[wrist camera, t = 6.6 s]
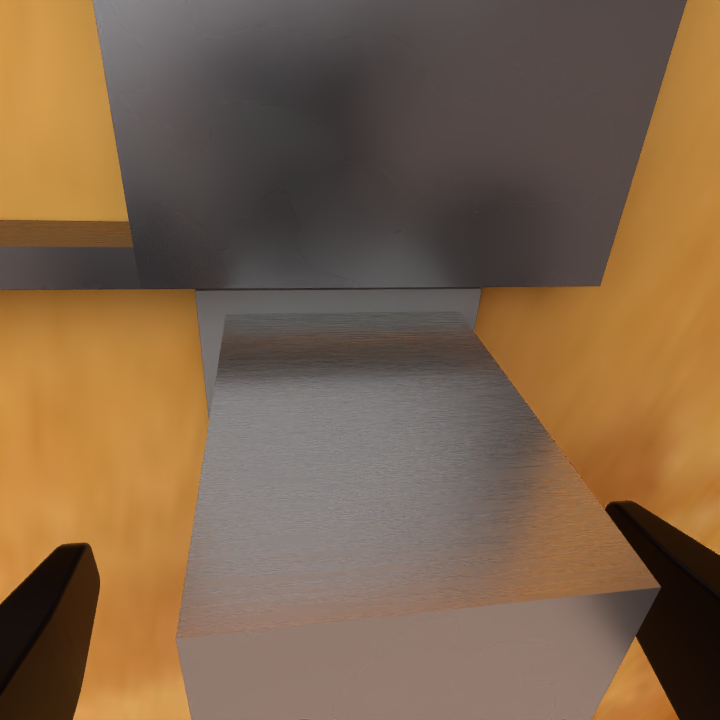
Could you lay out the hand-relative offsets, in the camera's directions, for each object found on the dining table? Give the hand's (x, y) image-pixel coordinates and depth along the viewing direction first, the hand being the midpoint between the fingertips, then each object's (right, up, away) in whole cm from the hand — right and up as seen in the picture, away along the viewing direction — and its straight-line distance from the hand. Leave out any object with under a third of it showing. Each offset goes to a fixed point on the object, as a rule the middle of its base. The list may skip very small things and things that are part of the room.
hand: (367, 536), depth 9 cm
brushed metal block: (-1, +2, +3) cm, 4 cm away
